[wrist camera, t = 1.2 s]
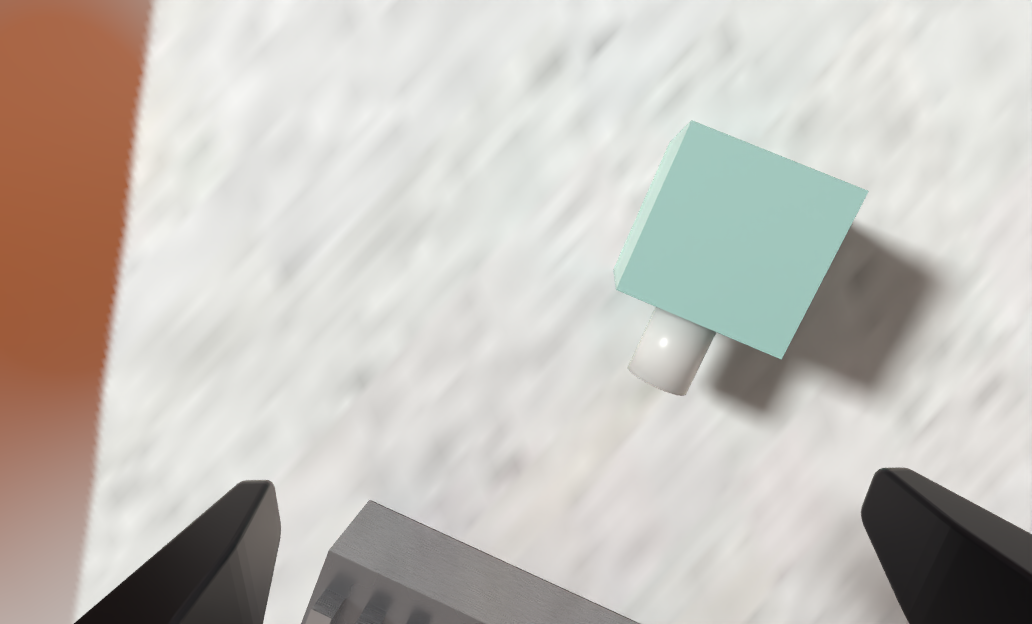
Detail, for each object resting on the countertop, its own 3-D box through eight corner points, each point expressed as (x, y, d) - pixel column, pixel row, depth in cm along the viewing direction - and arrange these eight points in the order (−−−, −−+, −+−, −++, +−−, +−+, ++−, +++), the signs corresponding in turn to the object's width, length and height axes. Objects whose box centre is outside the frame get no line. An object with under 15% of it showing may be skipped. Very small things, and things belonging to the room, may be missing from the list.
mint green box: (800, 195, 22) (868, 191, 17) (709, 378, 24) (743, 433, 18) (669, 142, 23) (691, 120, 17) (588, 326, 24) (582, 364, 18)
